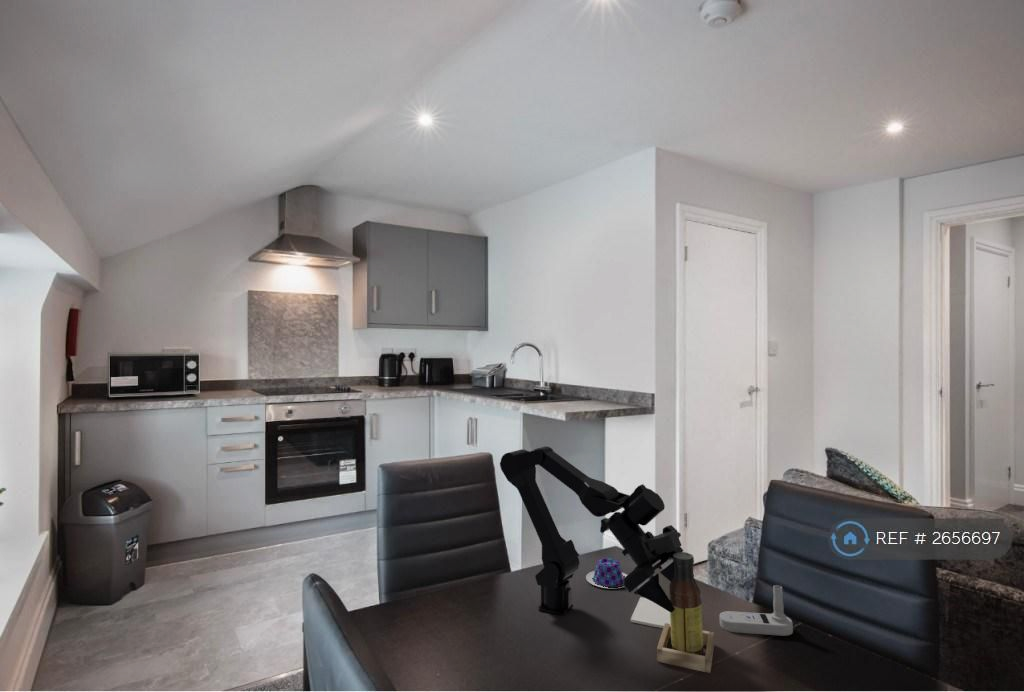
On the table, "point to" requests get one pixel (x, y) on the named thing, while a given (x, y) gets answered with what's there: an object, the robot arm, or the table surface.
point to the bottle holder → (683, 657)
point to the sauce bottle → (685, 607)
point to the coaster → (650, 614)
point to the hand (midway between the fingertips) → (682, 602)
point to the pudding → (606, 574)
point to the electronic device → (759, 619)
